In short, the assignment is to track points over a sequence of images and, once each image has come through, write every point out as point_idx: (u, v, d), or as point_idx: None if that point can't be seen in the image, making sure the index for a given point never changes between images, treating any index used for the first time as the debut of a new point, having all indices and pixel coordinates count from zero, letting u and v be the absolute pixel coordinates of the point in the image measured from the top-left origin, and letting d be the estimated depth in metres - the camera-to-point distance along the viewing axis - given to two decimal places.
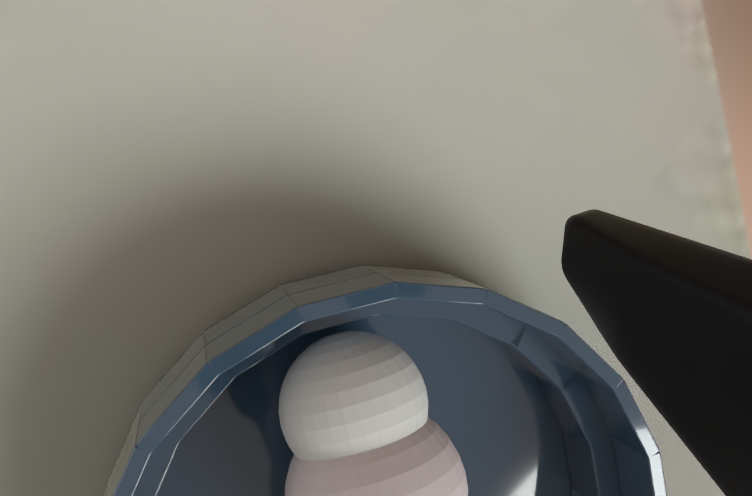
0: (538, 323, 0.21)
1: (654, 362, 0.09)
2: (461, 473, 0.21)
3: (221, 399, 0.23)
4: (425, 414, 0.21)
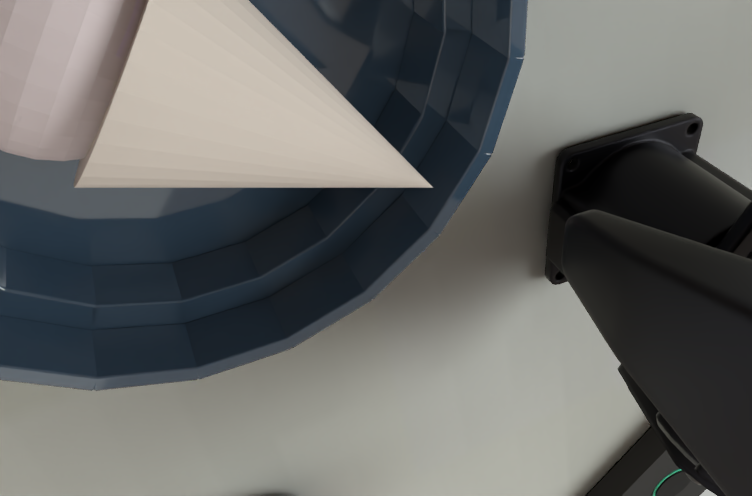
0: None
1: (654, 362, 0.09)
2: None
3: None
4: None
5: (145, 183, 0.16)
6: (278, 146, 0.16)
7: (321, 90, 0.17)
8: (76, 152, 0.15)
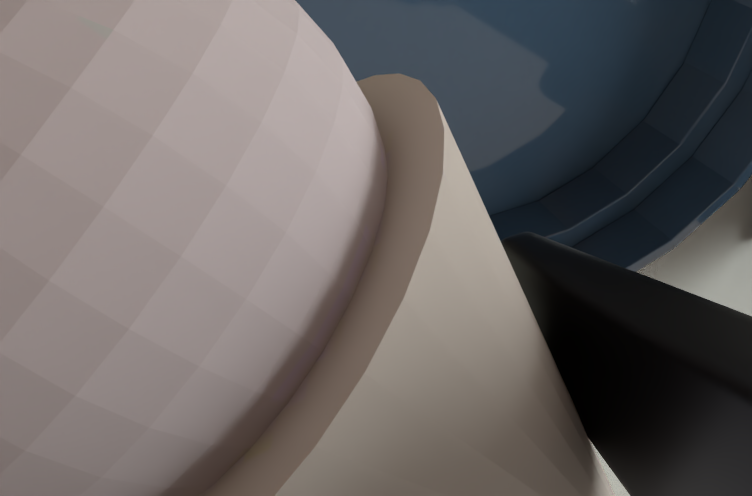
0: None
1: (583, 391, 0.09)
2: (258, 67, 0.05)
3: None
4: None
5: None
6: None
7: (579, 439, 0.09)
8: None
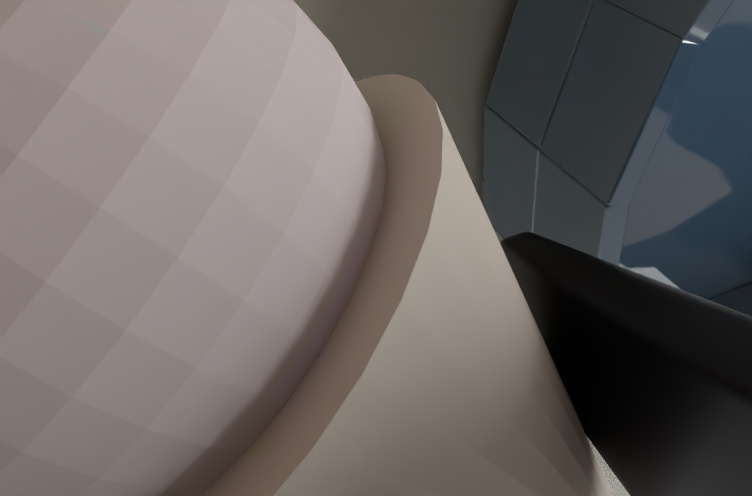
0: None
1: (583, 391, 0.09)
2: (256, 67, 0.05)
3: None
4: None
5: None
6: None
7: (578, 439, 0.09)
8: None
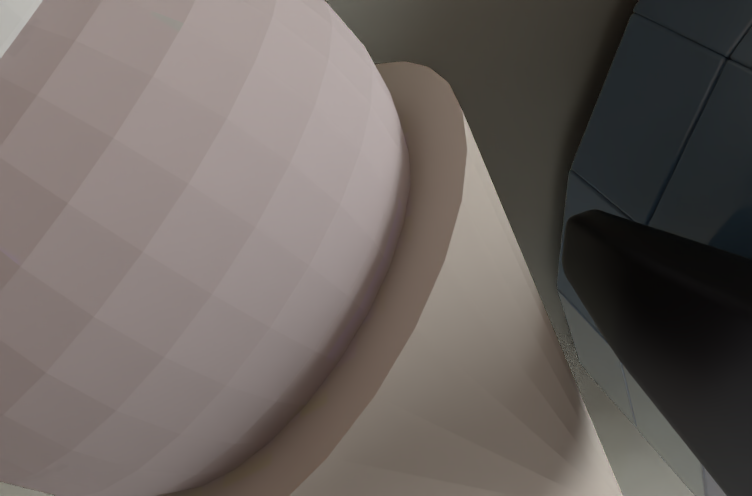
0: None
1: (655, 362, 0.09)
2: (307, 55, 0.06)
3: None
4: None
5: None
6: None
7: (576, 395, 0.09)
8: None
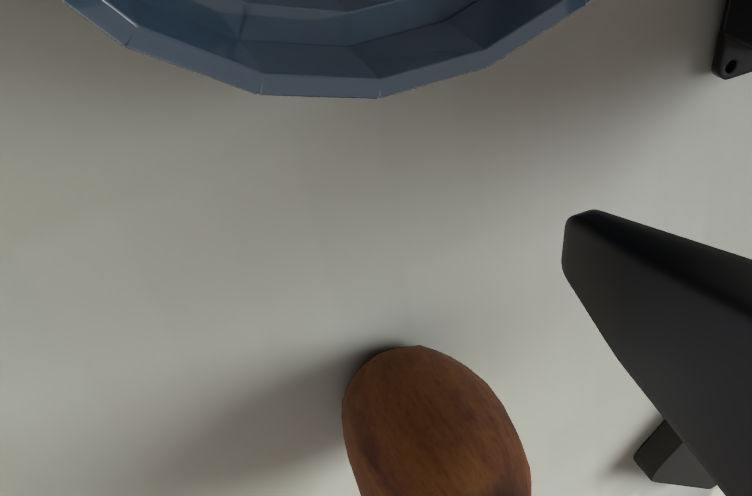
0: None
1: (654, 362, 0.09)
2: None
3: None
4: None
5: None
6: None
7: None
8: None
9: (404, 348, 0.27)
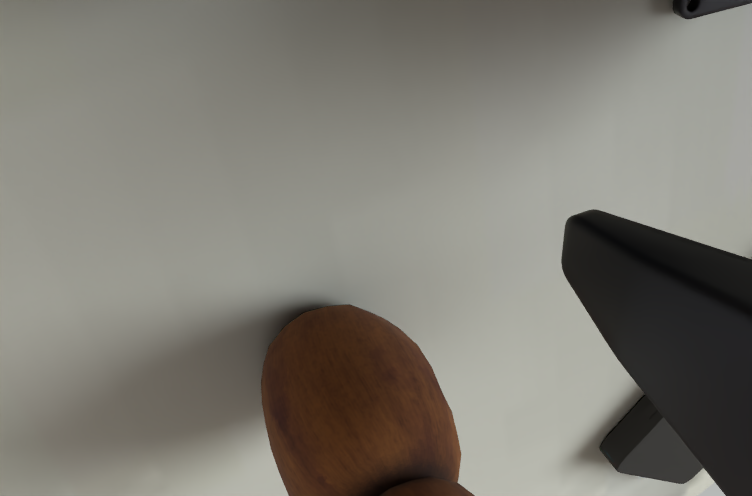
0: None
1: (654, 362, 0.09)
2: None
3: None
4: None
5: None
6: None
7: None
8: None
9: (331, 306, 0.25)
